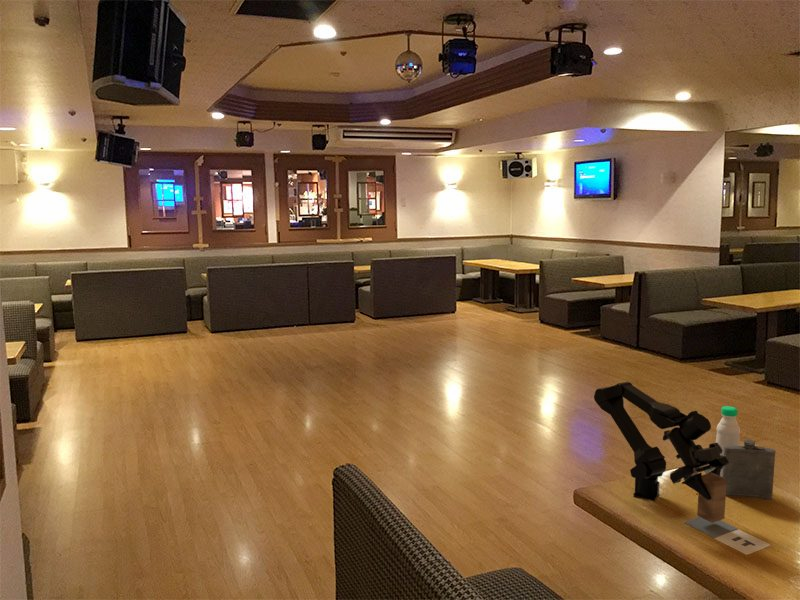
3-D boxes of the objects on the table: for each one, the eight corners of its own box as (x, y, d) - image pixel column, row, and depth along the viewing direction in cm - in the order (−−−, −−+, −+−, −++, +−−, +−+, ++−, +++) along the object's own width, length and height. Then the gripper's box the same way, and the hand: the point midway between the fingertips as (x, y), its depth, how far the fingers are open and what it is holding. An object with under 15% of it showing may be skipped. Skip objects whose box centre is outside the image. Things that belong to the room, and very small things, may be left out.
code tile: (713, 539, 183) (713, 537, 183) (737, 530, 188) (737, 528, 187) (746, 556, 174) (746, 554, 174) (771, 546, 179) (771, 544, 179)
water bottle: (740, 479, 220) (744, 407, 216) (733, 486, 215) (737, 412, 211) (717, 474, 225) (721, 403, 221) (710, 480, 220) (714, 408, 216)
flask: (720, 491, 212) (723, 437, 209) (769, 495, 208) (773, 440, 206) (722, 496, 209) (725, 441, 206) (773, 500, 205) (777, 444, 202)
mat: (683, 524, 192) (683, 522, 192) (707, 515, 196) (707, 513, 196) (714, 539, 183) (714, 537, 183) (738, 530, 187) (738, 528, 187)
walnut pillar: (697, 515, 190) (699, 476, 188) (709, 511, 193) (711, 472, 191) (712, 523, 186) (714, 482, 184) (724, 518, 188) (726, 478, 186)
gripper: (680, 440, 185) (712, 493, 177) (725, 428, 193) (757, 478, 185) (656, 457, 193) (686, 509, 185) (700, 445, 201) (730, 494, 193)
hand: (716, 497), depth 187 cm, fingers closed on walnut pillar, 5 cm apart
